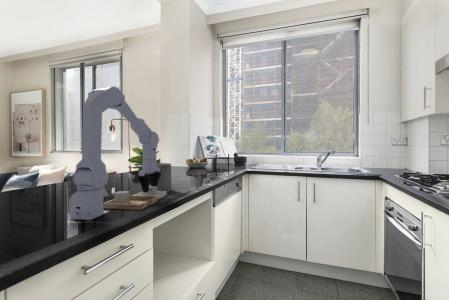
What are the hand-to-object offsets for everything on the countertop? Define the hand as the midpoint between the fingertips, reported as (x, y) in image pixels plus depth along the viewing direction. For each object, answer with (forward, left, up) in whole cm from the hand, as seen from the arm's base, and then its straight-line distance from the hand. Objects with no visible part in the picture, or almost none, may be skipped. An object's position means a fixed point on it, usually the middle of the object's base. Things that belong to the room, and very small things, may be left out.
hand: (150, 190), depth 104 cm
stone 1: (-12, +5, -3) cm, 14 cm away
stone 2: (0, 0, -3) cm, 3 cm away
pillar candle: (+16, +2, -4) cm, 16 cm away
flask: (-2, +23, -4) cm, 23 cm away
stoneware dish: (0, 0, -3) cm, 3 cm away
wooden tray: (-12, +1, -3) cm, 13 cm away
